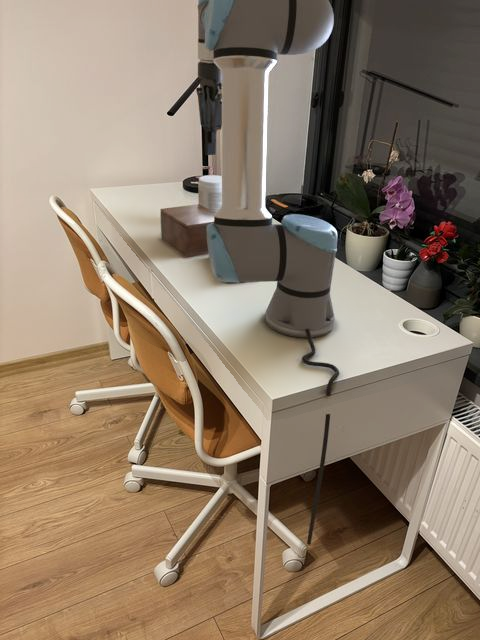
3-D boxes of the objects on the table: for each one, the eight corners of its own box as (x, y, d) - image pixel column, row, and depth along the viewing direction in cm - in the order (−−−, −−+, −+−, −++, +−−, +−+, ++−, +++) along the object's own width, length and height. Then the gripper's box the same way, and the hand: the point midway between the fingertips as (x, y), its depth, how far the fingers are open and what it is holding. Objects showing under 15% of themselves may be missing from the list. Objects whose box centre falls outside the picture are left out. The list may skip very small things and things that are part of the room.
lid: (227, 222, 153) (227, 219, 152) (187, 228, 146) (187, 225, 146) (199, 206, 164) (199, 204, 164) (160, 211, 158) (160, 208, 157)
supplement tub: (233, 224, 178) (235, 178, 171) (220, 232, 171) (221, 184, 163) (206, 218, 181) (207, 173, 174) (192, 226, 174) (192, 179, 166)
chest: (225, 250, 158) (226, 222, 153) (185, 257, 151) (185, 228, 147) (199, 233, 168) (199, 206, 164) (161, 239, 162) (160, 211, 158)
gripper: (237, 64, 143) (233, 158, 155) (211, 59, 152) (210, 148, 164) (212, 64, 139) (210, 160, 151) (187, 58, 148) (187, 150, 160)
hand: (210, 154), depth 158 cm, fingers closed
